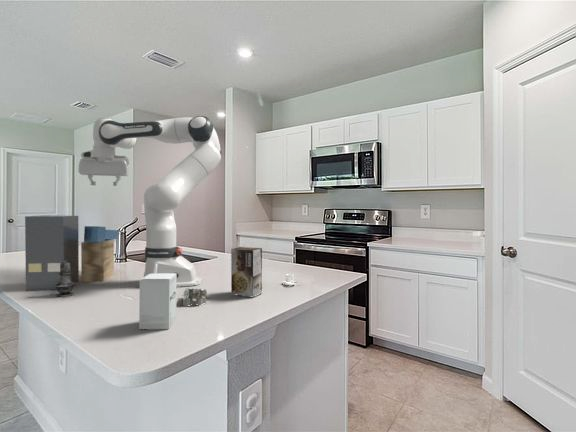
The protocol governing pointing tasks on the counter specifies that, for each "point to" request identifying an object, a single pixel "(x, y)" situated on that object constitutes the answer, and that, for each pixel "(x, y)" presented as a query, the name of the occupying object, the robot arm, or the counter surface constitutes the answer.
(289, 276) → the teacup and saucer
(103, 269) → the wooden log section
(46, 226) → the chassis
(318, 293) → the counter surface
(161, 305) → the supplement box
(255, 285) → the coffee box
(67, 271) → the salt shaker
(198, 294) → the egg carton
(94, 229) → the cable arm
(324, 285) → the counter surface
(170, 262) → the robot arm
